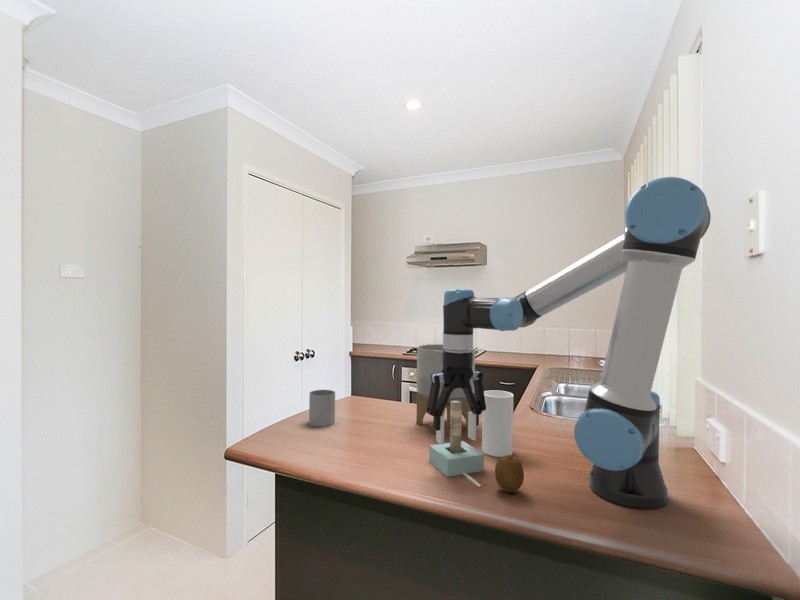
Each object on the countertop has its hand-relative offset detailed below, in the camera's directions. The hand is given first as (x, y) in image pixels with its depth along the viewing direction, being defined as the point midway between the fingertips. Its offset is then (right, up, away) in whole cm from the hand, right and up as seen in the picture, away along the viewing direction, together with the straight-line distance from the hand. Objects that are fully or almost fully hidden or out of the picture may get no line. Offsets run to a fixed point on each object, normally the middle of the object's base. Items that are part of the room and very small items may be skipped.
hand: (456, 440), depth 104 cm
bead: (0, -6, 0) cm, 6 cm away
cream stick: (+2, -6, -8) cm, 11 cm away
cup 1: (-40, -6, +33) cm, 52 cm away
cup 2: (+13, -7, +10) cm, 18 cm away
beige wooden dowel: (0, -6, 0) cm, 6 cm away
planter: (0, -6, +31) cm, 32 cm away
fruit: (+10, -7, -13) cm, 18 cm away
